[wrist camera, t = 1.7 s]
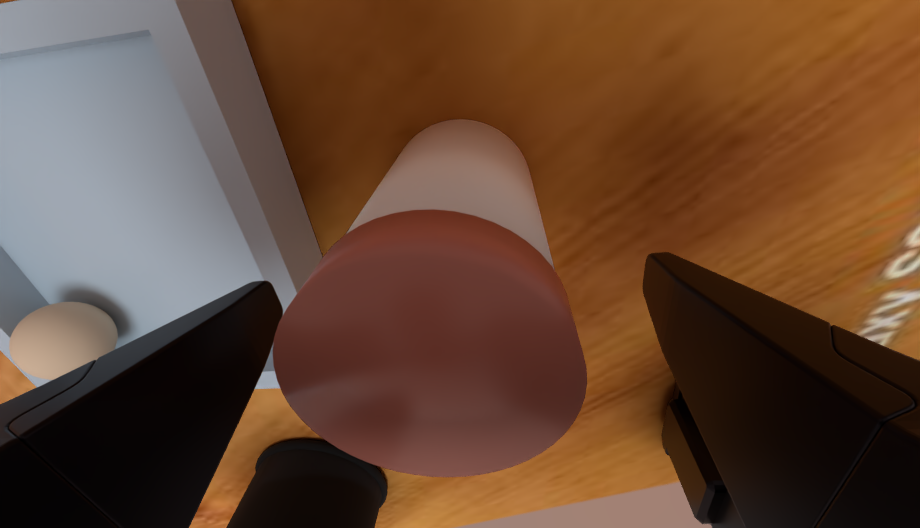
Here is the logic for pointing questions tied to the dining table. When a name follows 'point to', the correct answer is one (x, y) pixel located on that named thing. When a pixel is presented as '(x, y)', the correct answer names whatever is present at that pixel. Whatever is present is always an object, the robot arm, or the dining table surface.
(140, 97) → the dish
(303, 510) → the aerosol can
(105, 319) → the cork ball
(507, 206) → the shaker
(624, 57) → the dining table surface
